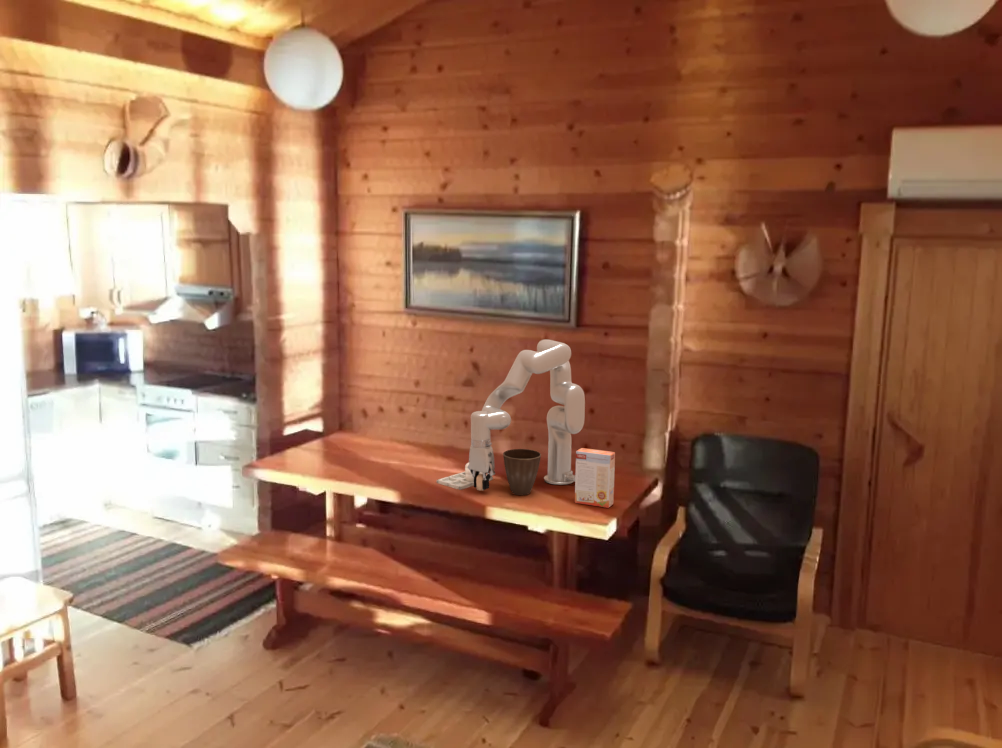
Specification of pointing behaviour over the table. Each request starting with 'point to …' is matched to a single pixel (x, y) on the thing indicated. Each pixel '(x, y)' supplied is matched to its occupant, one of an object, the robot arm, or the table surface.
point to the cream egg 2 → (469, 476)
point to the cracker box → (594, 477)
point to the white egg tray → (457, 481)
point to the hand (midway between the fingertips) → (481, 487)
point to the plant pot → (521, 469)
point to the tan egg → (479, 482)
